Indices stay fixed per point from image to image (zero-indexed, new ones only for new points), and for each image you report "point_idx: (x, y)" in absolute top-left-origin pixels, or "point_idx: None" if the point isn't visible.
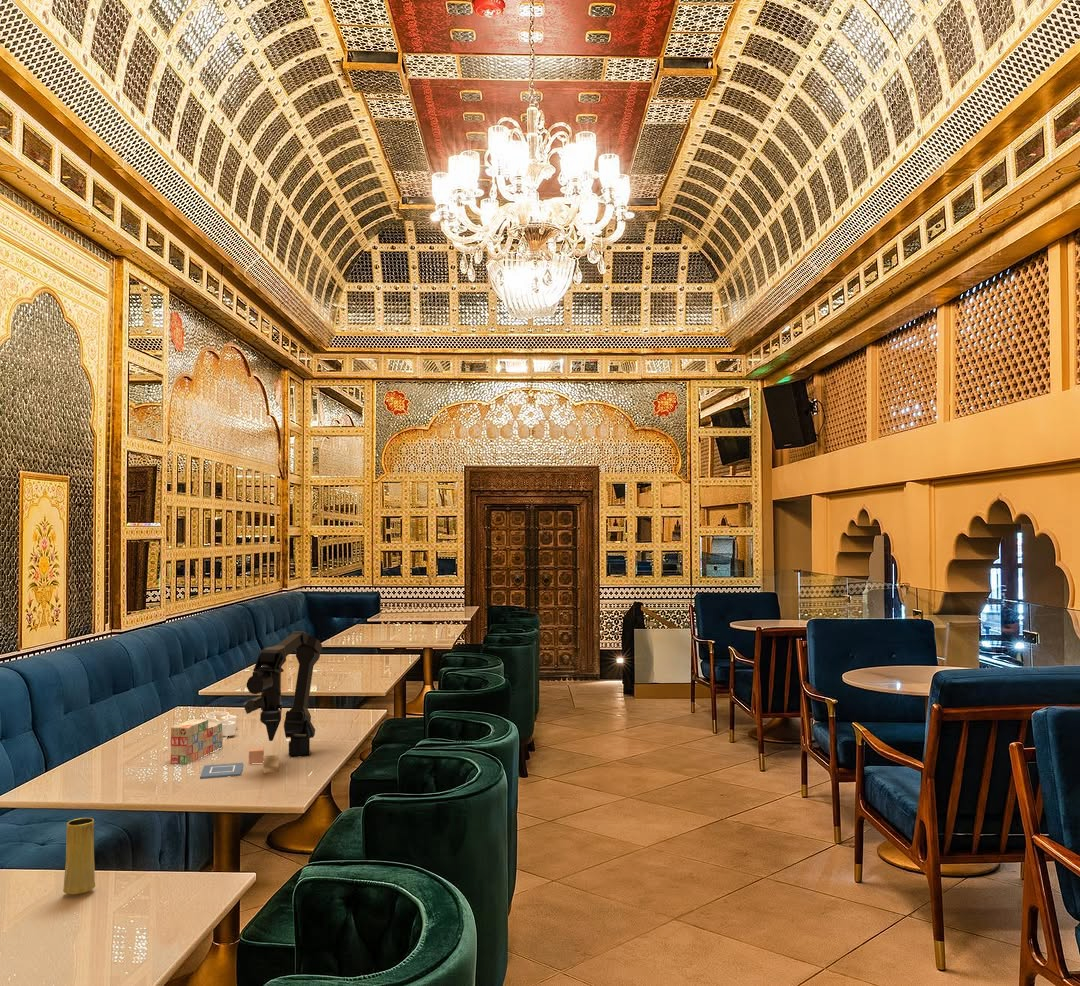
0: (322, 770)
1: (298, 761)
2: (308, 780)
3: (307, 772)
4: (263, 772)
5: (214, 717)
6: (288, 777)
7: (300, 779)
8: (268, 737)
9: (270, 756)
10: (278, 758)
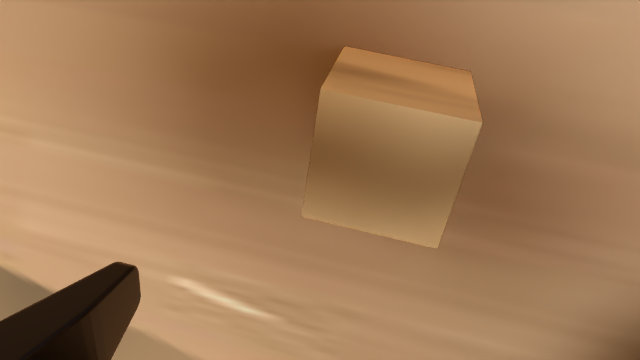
0: (260, 355)
1: (562, 329)
2: (79, 251)
3: (247, 292)
4: (344, 48)
5: None
6: (167, 181)
7: (107, 225)
8: (62, 289)
9: (414, 174)
10: (351, 220)
